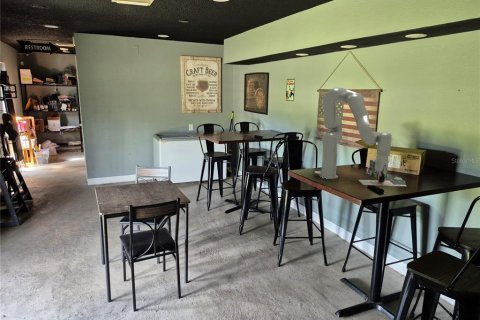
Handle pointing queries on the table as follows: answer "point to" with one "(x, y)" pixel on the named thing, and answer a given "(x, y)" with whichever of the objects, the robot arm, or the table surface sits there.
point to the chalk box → (372, 169)
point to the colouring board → (387, 183)
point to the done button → (397, 179)
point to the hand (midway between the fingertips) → (380, 181)
